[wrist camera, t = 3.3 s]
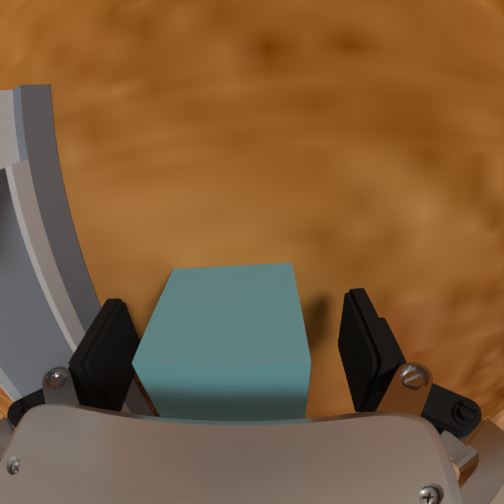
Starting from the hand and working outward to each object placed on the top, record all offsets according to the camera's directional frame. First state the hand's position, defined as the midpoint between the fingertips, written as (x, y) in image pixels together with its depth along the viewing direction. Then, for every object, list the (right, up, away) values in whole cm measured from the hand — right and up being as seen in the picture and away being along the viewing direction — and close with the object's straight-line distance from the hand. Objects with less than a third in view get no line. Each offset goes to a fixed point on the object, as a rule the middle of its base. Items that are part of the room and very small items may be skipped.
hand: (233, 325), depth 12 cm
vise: (-13, 0, +2) cm, 13 cm away
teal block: (0, +1, +1) cm, 2 cm away
